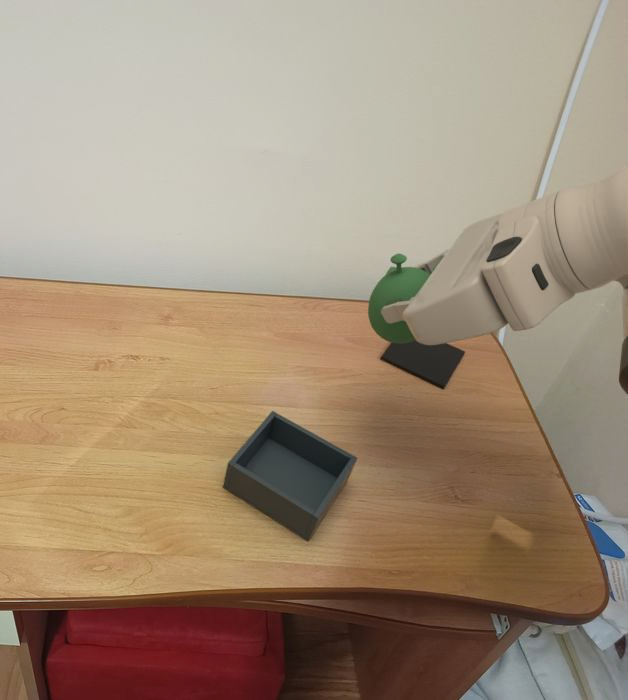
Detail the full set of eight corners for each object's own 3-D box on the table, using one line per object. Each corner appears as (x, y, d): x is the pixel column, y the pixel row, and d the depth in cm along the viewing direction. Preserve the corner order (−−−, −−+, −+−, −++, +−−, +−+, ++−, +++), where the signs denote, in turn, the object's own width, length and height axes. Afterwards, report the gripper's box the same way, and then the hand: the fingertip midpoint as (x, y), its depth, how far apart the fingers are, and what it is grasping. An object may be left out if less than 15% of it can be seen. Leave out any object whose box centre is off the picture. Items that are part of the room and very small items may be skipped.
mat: (464, 354, 89) (465, 351, 88) (443, 389, 83) (444, 386, 83) (403, 327, 92) (404, 324, 92) (380, 359, 87) (381, 356, 87)
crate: (347, 481, 71) (357, 457, 68) (308, 541, 65) (318, 518, 62) (265, 435, 76) (272, 410, 73) (222, 487, 70) (227, 462, 67)
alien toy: (428, 324, 71) (461, 250, 64) (419, 365, 66) (455, 289, 59) (366, 306, 73) (393, 231, 66) (353, 344, 68) (380, 268, 61)
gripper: (551, 177, 61) (420, 228, 71) (495, 272, 48) (346, 316, 59) (578, 232, 62) (445, 275, 73) (529, 339, 50) (377, 371, 60)
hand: (400, 294), depth 66 cm, fingers closed on alien toy, 7 cm apart
